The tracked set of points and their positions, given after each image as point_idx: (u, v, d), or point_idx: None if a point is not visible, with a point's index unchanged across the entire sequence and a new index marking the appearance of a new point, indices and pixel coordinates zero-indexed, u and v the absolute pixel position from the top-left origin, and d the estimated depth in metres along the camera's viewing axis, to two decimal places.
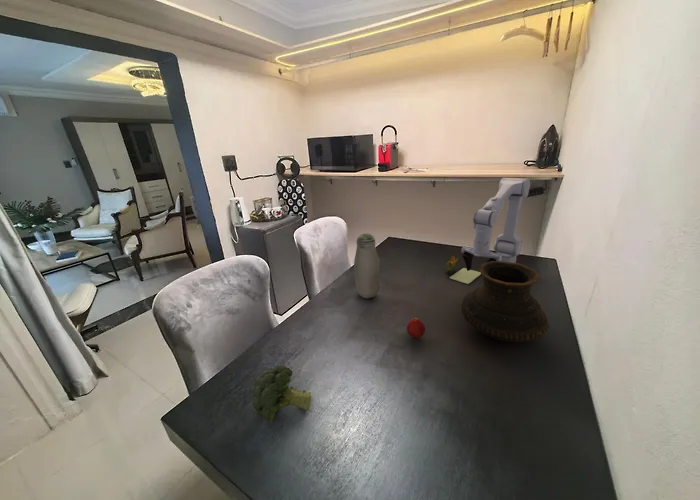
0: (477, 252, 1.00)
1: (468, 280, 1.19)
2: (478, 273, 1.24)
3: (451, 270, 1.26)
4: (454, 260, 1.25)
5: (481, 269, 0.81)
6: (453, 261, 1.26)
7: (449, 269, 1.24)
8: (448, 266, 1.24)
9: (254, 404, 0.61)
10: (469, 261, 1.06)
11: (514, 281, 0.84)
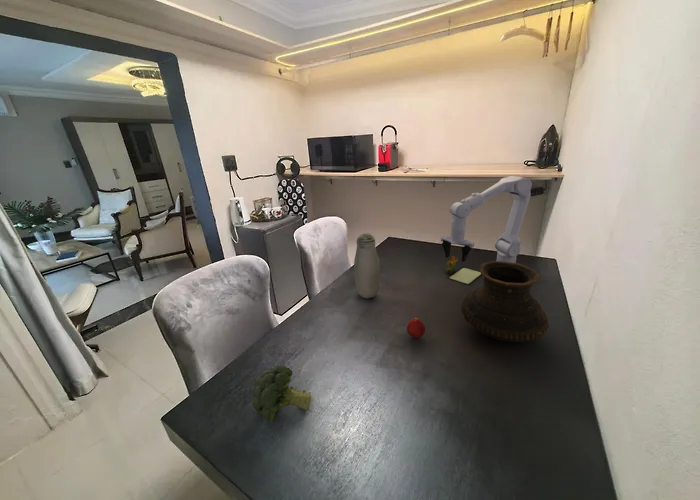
0: (453, 240, 1.14)
1: (468, 280, 1.19)
2: (478, 273, 1.24)
3: (451, 270, 1.26)
4: (454, 260, 1.25)
5: (481, 269, 0.81)
6: (453, 261, 1.26)
7: (449, 269, 1.24)
8: (448, 266, 1.24)
9: (254, 404, 0.61)
10: (447, 249, 1.20)
11: (514, 281, 0.84)
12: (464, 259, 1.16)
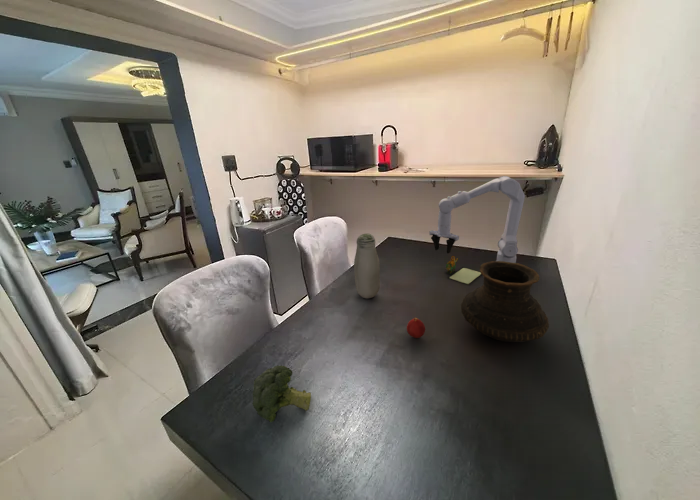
0: (440, 234, 1.24)
1: (468, 280, 1.19)
2: (478, 273, 1.24)
3: (451, 270, 1.26)
4: (454, 260, 1.25)
5: (481, 269, 0.81)
6: (453, 261, 1.26)
7: (449, 269, 1.24)
8: (448, 266, 1.24)
9: (254, 404, 0.61)
10: (436, 242, 1.29)
11: (514, 281, 0.84)
12: (449, 251, 1.26)
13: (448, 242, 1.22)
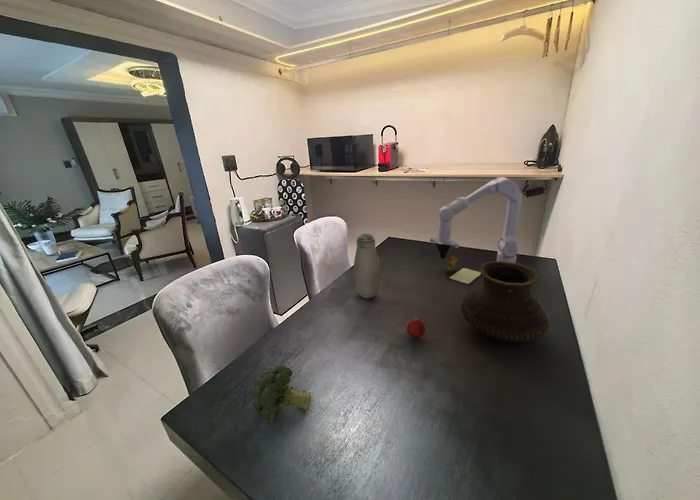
0: (440, 241, 1.25)
1: (468, 280, 1.19)
2: (478, 273, 1.24)
3: (451, 270, 1.26)
4: (454, 260, 1.25)
5: (481, 269, 0.81)
6: (453, 261, 1.26)
7: (449, 269, 1.24)
8: (448, 266, 1.24)
9: (254, 404, 0.61)
10: None
11: (514, 281, 0.84)
12: (444, 256, 1.29)
13: (443, 248, 1.25)
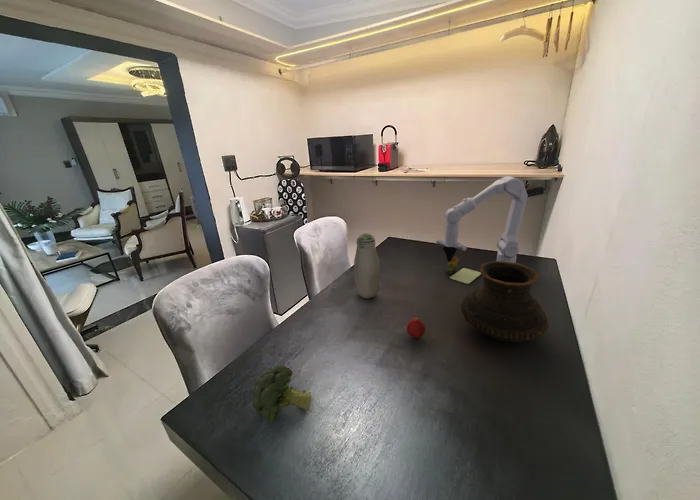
0: (447, 243, 1.22)
1: (468, 280, 1.19)
2: (478, 273, 1.24)
3: (451, 270, 1.26)
4: None
5: (481, 269, 0.81)
6: (454, 261, 1.25)
7: (450, 269, 1.24)
8: (449, 266, 1.24)
9: (254, 404, 0.61)
10: None
11: (514, 281, 0.84)
12: (450, 259, 1.27)
13: (450, 251, 1.23)
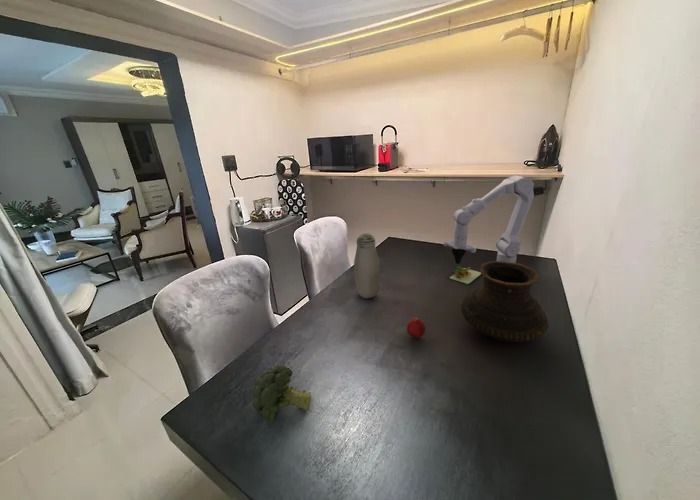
0: (456, 245, 1.19)
1: (468, 280, 1.19)
2: (478, 273, 1.24)
3: (455, 273, 1.25)
4: None
5: (481, 269, 0.81)
6: None
7: (455, 275, 1.23)
8: None
9: (254, 404, 0.61)
10: None
11: (514, 281, 0.84)
12: (459, 261, 1.24)
13: (459, 253, 1.20)
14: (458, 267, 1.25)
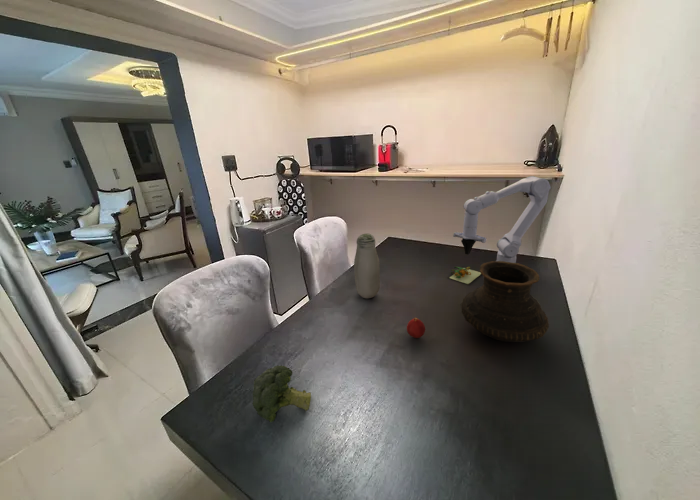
0: (466, 235, 1.19)
1: (468, 280, 1.19)
2: (478, 273, 1.24)
3: (455, 273, 1.25)
4: (466, 274, 1.23)
5: (481, 269, 0.81)
6: (465, 273, 1.23)
7: None
8: None
9: (254, 404, 0.61)
10: None
11: (514, 281, 0.84)
12: (469, 252, 1.23)
13: (468, 243, 1.20)
14: (458, 267, 1.25)
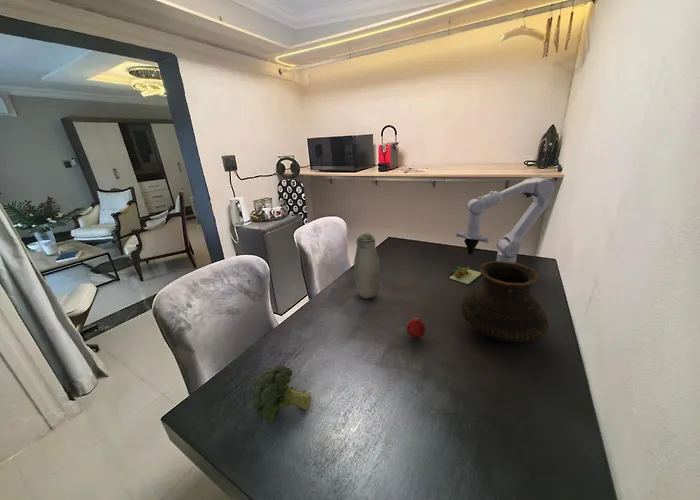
0: (469, 235, 1.19)
1: (468, 280, 1.19)
2: (478, 273, 1.24)
3: (455, 273, 1.25)
4: (466, 274, 1.23)
5: (481, 269, 0.81)
6: (465, 273, 1.23)
7: None
8: None
9: (254, 404, 0.61)
10: None
11: (514, 281, 0.84)
12: (472, 252, 1.23)
13: (472, 243, 1.19)
14: (458, 267, 1.25)
